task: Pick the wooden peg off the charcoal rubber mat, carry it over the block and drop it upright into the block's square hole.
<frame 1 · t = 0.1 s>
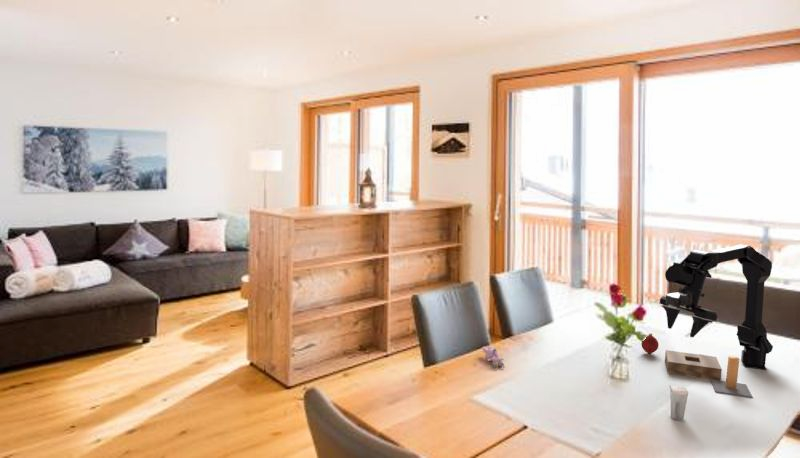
hand: (680, 332, 178), 15 cm above the table, tool pointing down, fingers open, 9 cm apart
mat: (730, 388, 171), on the table
rabbit figure: (492, 362, 192), on the table
peg: (732, 372, 170), on the mat
milkshake: (675, 418, 151), on the table
hole block: (691, 370, 186), on the table
onion: (649, 354, 201), on the table
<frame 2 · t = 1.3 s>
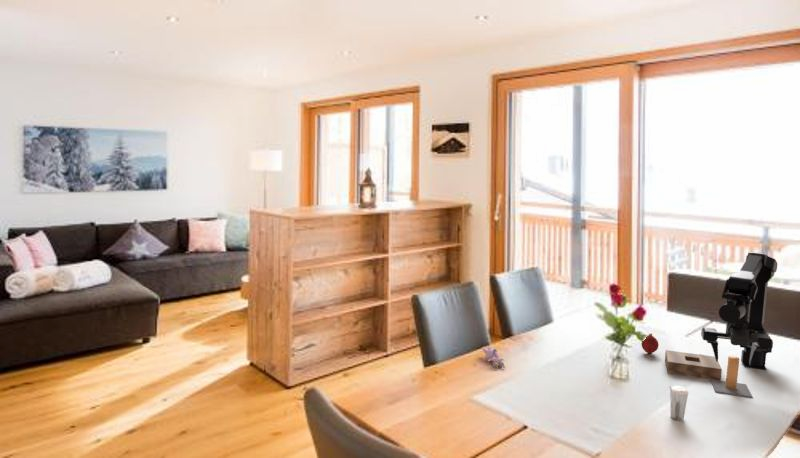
hand: (733, 363, 170), 9 cm above the table, tool pointing down, fingers open, 9 cm apart
nothing on the table moved.
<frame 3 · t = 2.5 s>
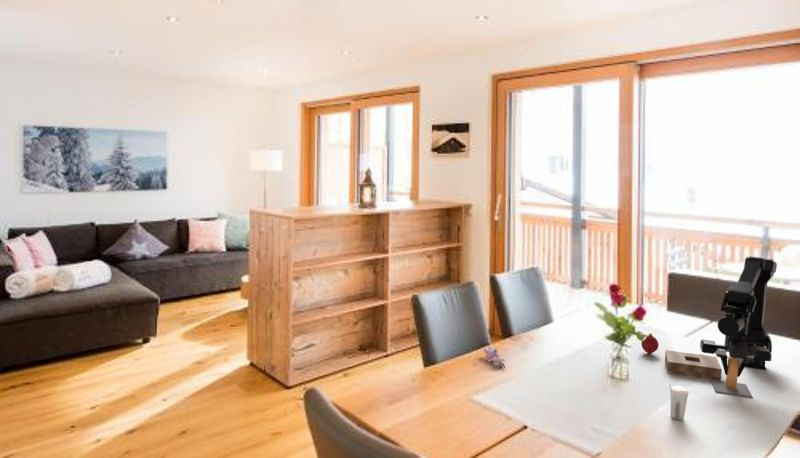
hand: (732, 375, 170), 4 cm above the table, tool pointing down, fingers closed on peg, 3 cm apart
peg: (732, 372, 170), on the mat, touching gripper
everything else where it was.
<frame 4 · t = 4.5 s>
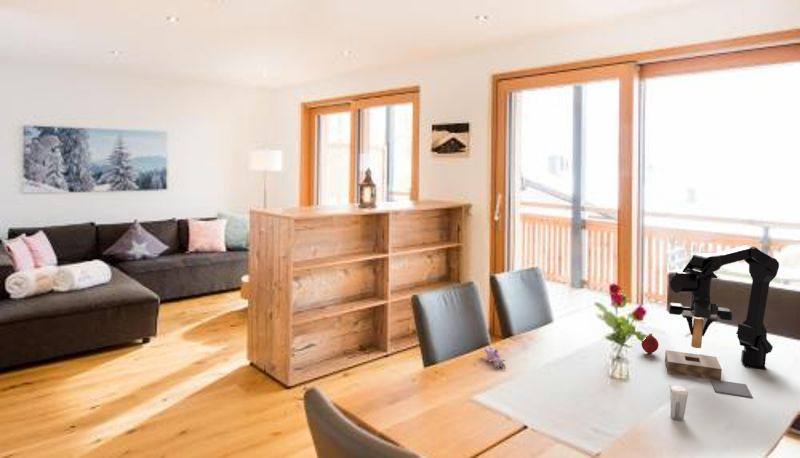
hand: (697, 335, 183), 13 cm above the table, tool pointing down, fingers closed on peg, 3 cm apart
peg: (697, 332, 183), point 14 cm above the table, touching gripper
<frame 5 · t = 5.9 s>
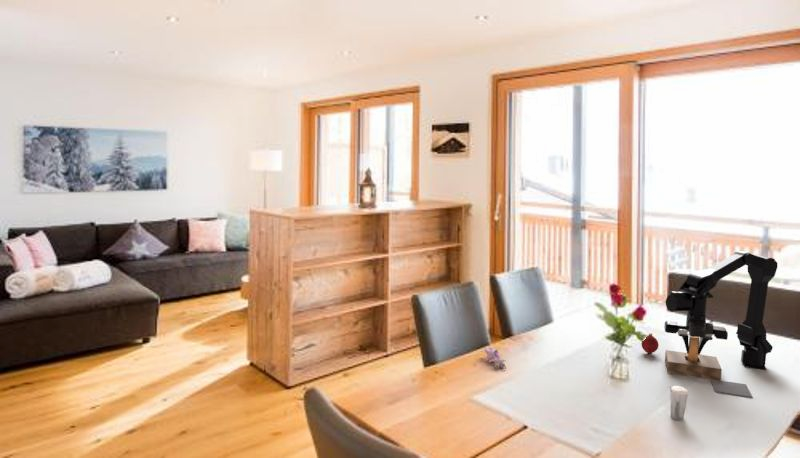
hand: (693, 353, 185), 6 cm above the table, tool pointing down, fingers closed on peg, 3 cm apart
peg: (693, 351, 185), point 7 cm above the table, touching gripper
when the fingers open (6 cm above the table, at t = 6.6 s): peg drops 2 cm, resting in hole block.
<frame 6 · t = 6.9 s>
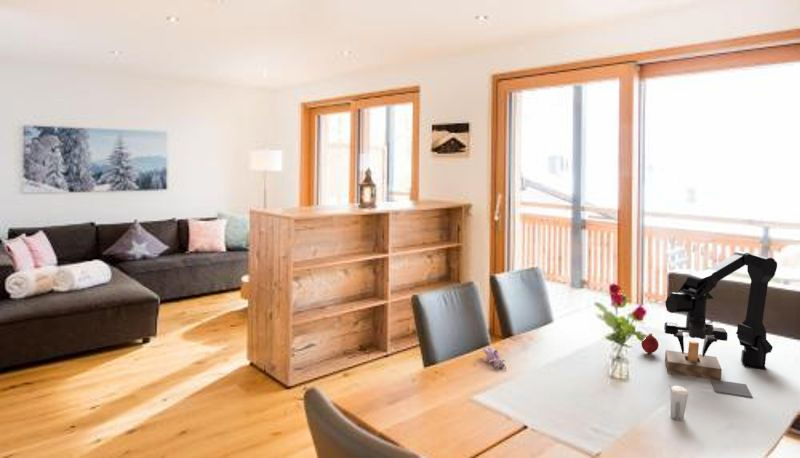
hand: (692, 354, 185), 6 cm above the table, tool pointing down, fingers open, 6 cm apart
peg: (692, 356, 185), in the hole block
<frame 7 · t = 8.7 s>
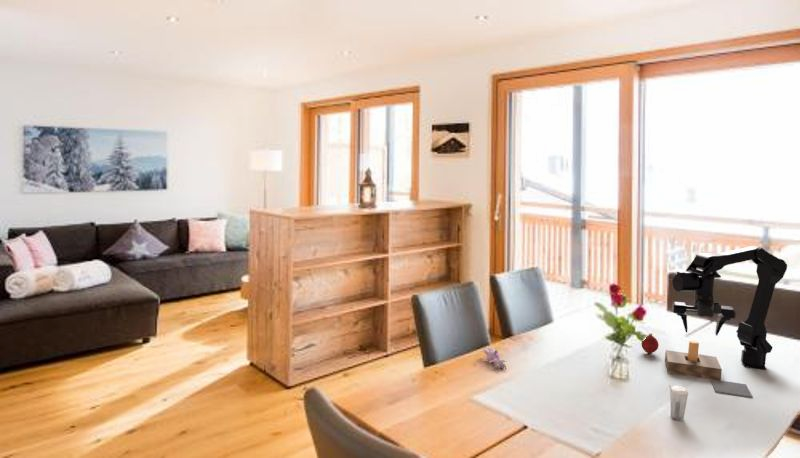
hand: (701, 333, 186), 13 cm above the table, tool pointing down, fingers open, 9 cm apart
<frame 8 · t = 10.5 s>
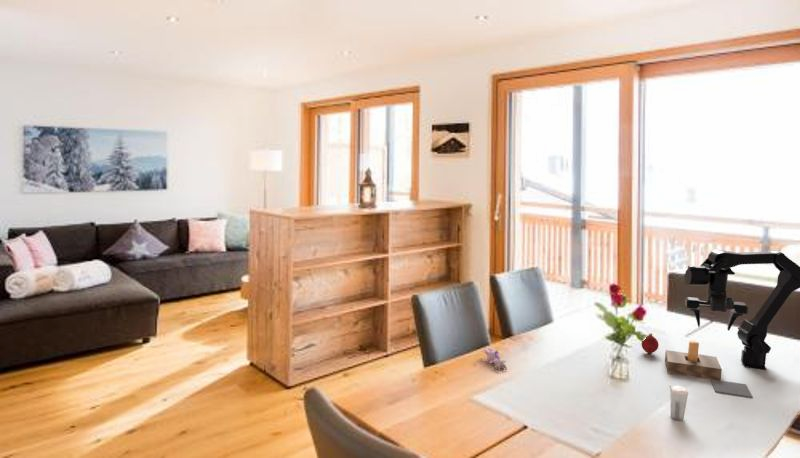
hand: (713, 328, 190), 13 cm above the table, tool pointing down, fingers open, 9 cm apart
at the end: peg 0.0 cm off-centre on the hole block, point 5.0 cm above the hole block's base; peg tilted 0°; the gripper is holding nothing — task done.
